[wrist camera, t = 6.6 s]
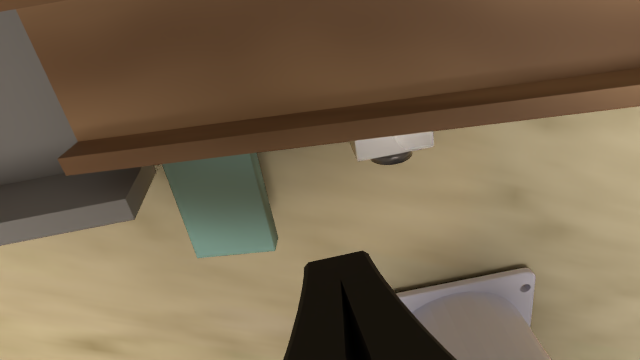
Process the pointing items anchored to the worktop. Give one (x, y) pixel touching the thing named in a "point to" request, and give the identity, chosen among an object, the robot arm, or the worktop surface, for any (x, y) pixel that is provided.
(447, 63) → the tilt board
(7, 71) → the tray
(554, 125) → the worktop surface
